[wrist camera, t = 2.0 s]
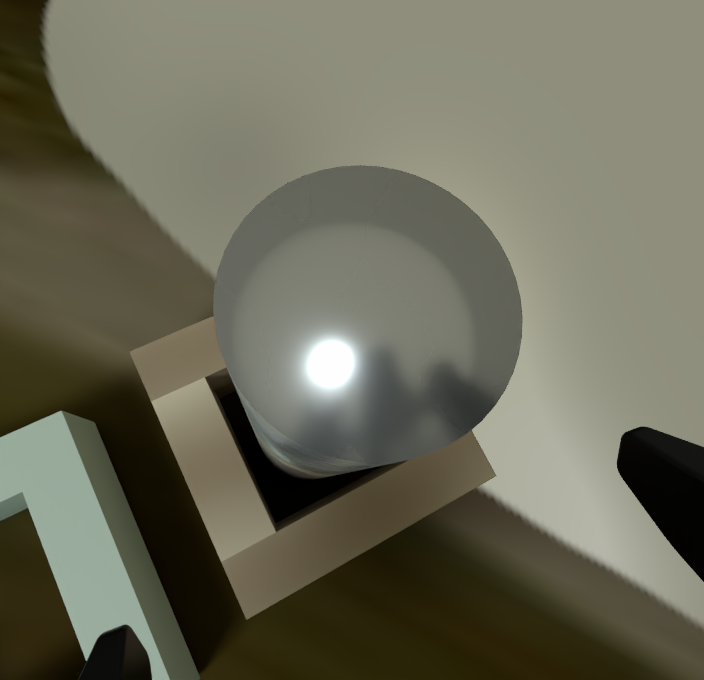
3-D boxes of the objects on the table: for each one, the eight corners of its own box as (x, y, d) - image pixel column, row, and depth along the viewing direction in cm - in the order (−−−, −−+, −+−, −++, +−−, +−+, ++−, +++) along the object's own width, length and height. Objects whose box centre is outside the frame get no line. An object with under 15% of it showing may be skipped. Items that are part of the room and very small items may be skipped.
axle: (374, 451, 20) (577, 374, 6) (284, 498, 19) (300, 525, 5) (329, 364, 20) (431, 128, 7) (241, 406, 20) (161, 228, 6)
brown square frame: (454, 478, 20) (496, 475, 16) (253, 591, 18) (246, 619, 14) (354, 291, 21) (371, 248, 17) (158, 378, 19) (129, 351, 16)
